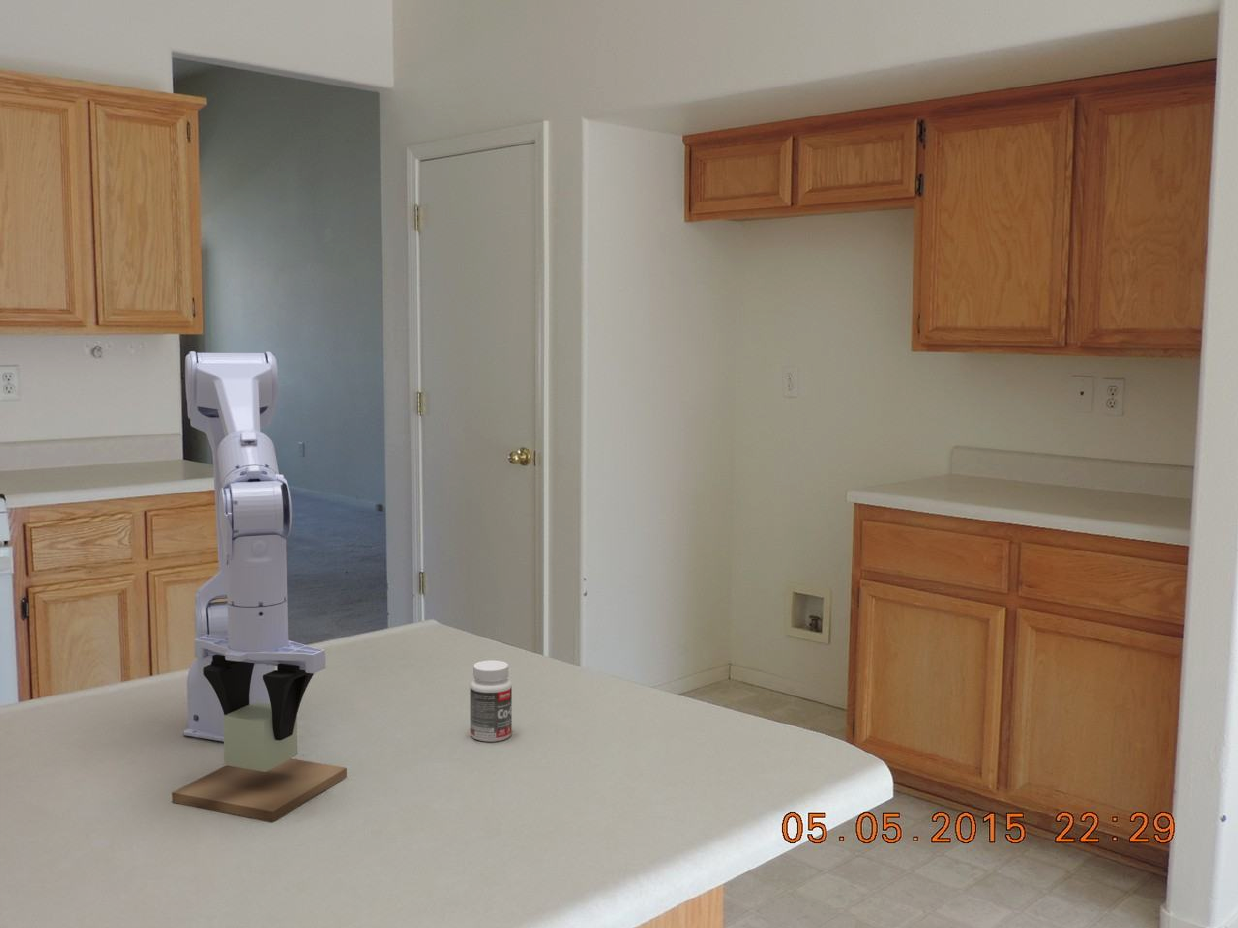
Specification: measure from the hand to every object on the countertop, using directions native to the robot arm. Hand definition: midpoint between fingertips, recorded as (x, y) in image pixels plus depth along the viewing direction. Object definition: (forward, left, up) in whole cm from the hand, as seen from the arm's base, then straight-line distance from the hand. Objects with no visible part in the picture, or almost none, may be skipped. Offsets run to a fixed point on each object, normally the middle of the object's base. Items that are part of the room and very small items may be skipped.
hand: (260, 733), depth 114 cm
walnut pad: (0, 0, -6) cm, 6 cm away
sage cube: (0, 0, -3) cm, 3 cm away
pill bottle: (+14, +23, -6) cm, 28 cm away
